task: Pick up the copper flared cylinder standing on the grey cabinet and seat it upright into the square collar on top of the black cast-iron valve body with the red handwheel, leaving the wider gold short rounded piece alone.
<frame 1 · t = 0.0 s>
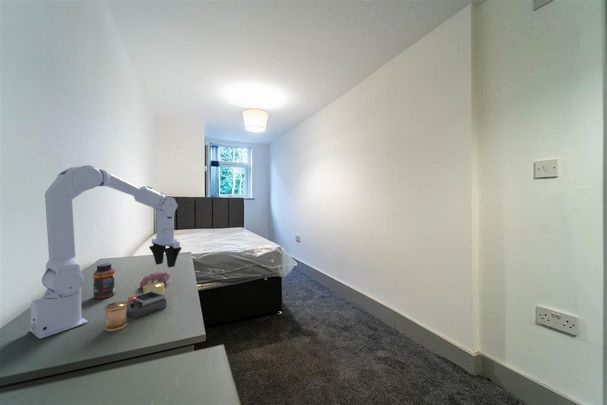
hand: (165, 265, 91), 10 cm above the cabinet, tool pointing down, fingers open, 7 cm apart
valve: (143, 309, 77), on the cabinet
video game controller: (155, 286, 98), on the cabinet
gold short rounded piece: (154, 296, 87), on the cabinet
supplement bottle: (104, 296, 87), on the cabinet
copper flared cylinder: (116, 327, 66), on the cabinet
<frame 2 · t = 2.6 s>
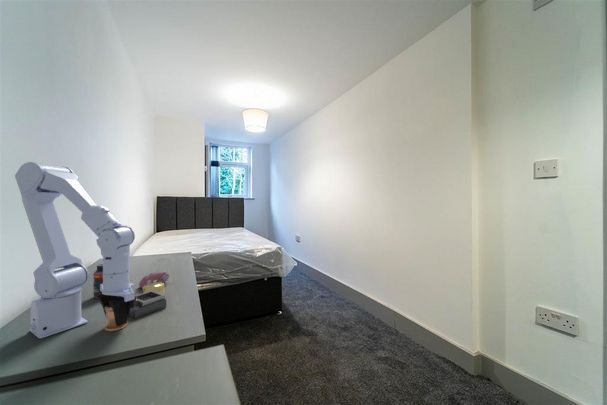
hand: (116, 321, 66), 1 cm above the cabinet, tool pointing down, fingers closed on copper flared cylinder, 5 cm apart
copper flared cylinder: (116, 326, 66), on the cabinet, touching gripper
everything else where it was.
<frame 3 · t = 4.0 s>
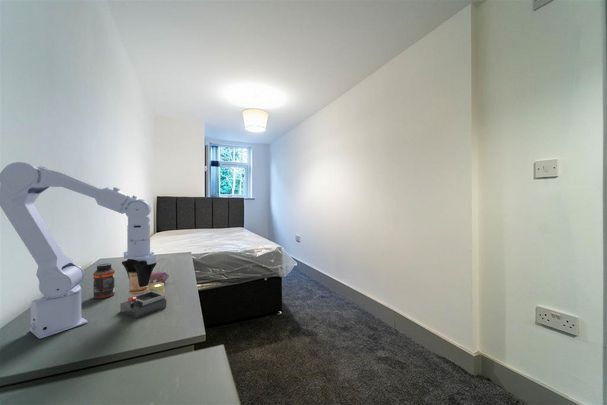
hand: (139, 284, 74), 9 cm above the cabinet, tool pointing down, fingers closed on copper flared cylinder, 5 cm apart
copper flared cylinder: (138, 291, 74), point 7 cm above the cabinet, touching gripper
everything else where it was.
when the fingers open (5 cm above the cabinet, at t = 5.5 s): copper flared cylinder stays where it is, resting on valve.
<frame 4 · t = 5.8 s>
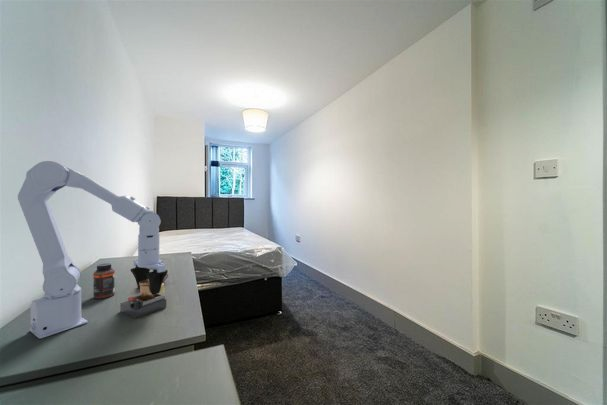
hand: (148, 291, 78), 5 cm above the cabinet, tool pointing down, fingers open, 7 cm apart
copper flared cylinder: (148, 300, 78), point 2 cm above the cabinet, touching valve
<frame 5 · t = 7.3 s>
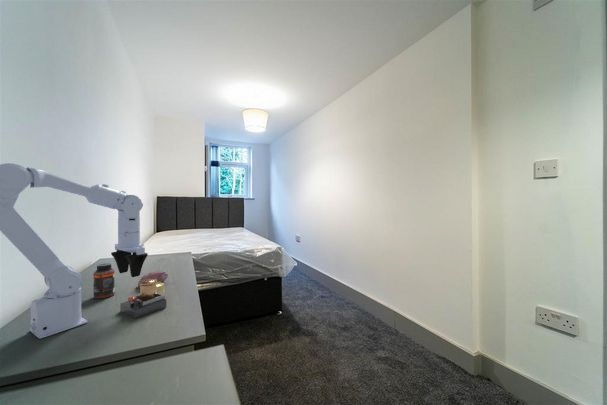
hand: (129, 274, 79), 10 cm above the cabinet, tool pointing down, fingers open, 7 cm apart
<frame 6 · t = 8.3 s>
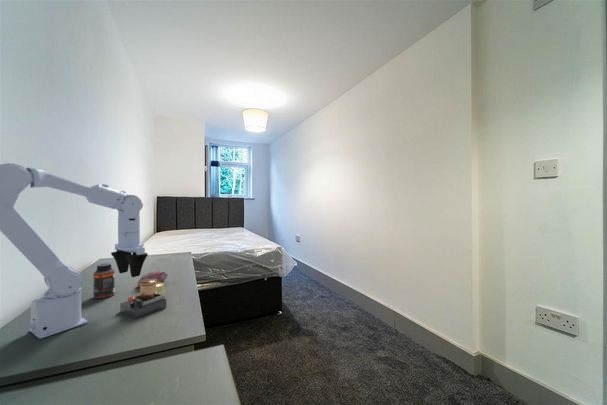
hand: (129, 274, 79), 10 cm above the cabinet, tool pointing down, fingers open, 7 cm apart
at the end: copper flared cylinder 0.4 cm from the target spot on the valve, point 2.5 cm above the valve's base; copper flared cylinder tilted 0°; the gripper is holding nothing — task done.
